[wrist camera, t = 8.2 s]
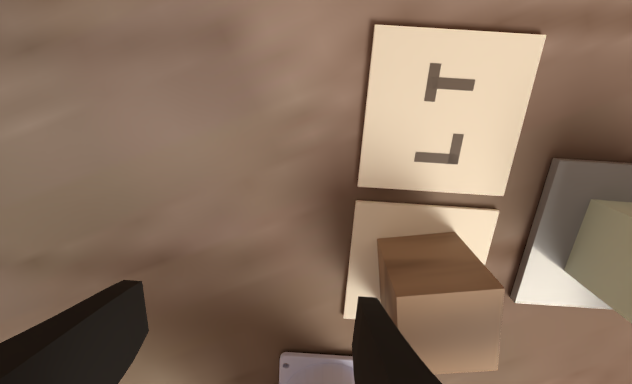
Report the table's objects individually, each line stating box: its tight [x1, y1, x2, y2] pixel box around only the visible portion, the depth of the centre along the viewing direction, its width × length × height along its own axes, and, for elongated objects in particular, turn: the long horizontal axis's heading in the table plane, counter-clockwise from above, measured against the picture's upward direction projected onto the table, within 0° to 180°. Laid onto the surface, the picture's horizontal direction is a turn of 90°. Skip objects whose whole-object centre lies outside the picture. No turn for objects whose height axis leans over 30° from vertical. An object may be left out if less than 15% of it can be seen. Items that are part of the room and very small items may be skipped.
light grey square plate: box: [510, 158, 632, 309], centre depth 20 cm, size 10×10×1 cm
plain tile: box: [343, 200, 499, 319], centre depth 22 cm, size 9×9×1 cm
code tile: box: [357, 24, 546, 196], centre depth 18 cm, size 9×9×1 cm
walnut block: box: [377, 232, 505, 374], centre depth 19 cm, size 5×5×6 cm
